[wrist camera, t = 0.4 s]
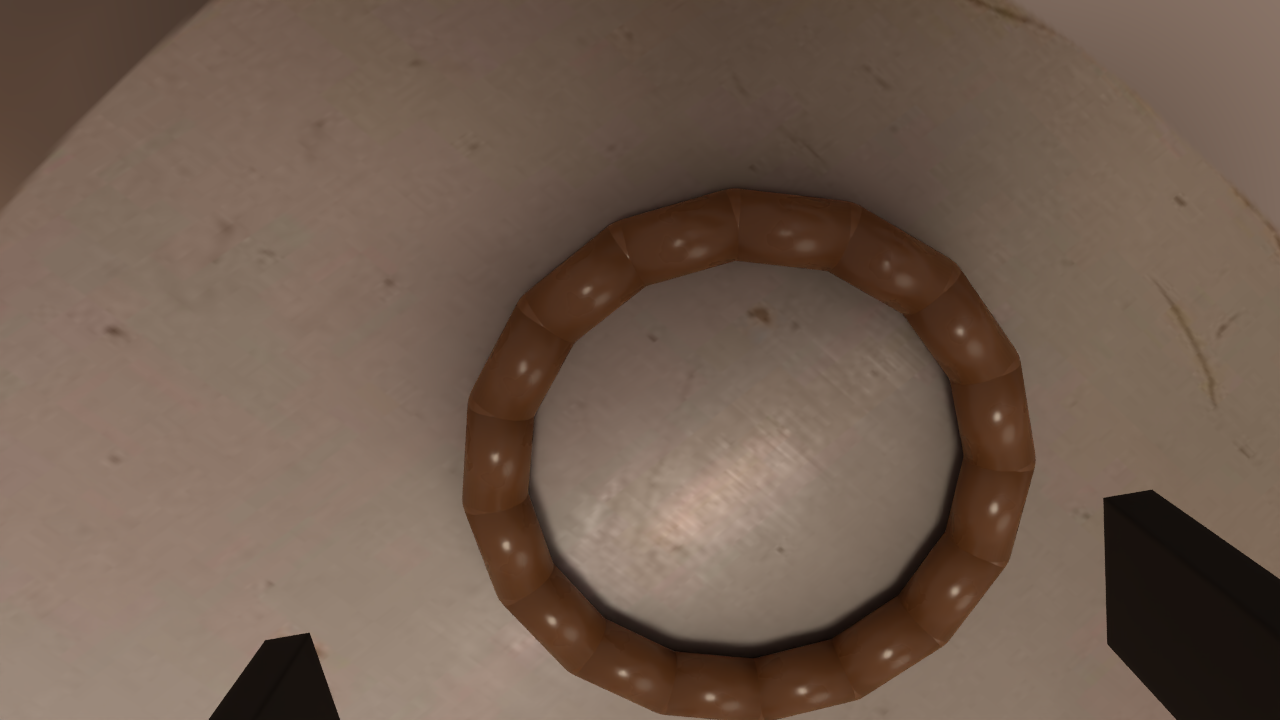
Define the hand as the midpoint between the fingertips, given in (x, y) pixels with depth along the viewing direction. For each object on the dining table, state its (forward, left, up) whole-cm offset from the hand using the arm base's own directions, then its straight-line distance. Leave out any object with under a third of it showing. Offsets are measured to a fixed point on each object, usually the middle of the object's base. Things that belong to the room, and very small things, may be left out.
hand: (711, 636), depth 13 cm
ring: (+5, -1, -16) cm, 17 cm away
